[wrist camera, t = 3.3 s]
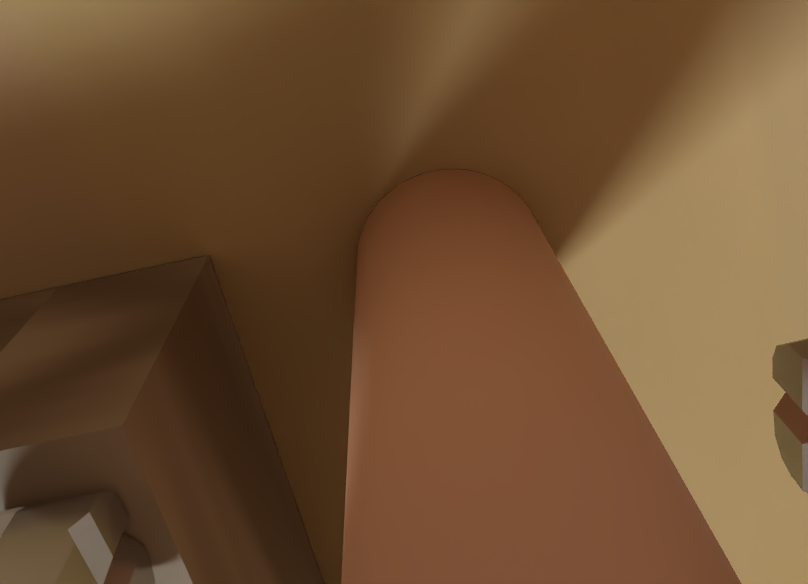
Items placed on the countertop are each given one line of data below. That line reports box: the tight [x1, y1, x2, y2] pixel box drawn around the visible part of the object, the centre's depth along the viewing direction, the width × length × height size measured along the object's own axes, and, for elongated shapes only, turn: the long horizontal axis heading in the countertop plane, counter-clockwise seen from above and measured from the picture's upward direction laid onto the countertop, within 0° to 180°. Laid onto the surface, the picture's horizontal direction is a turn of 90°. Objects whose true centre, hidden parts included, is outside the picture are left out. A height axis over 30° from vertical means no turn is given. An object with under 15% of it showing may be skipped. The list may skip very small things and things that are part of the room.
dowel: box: [341, 169, 741, 584], centre depth 9 cm, size 3×3×9 cm
